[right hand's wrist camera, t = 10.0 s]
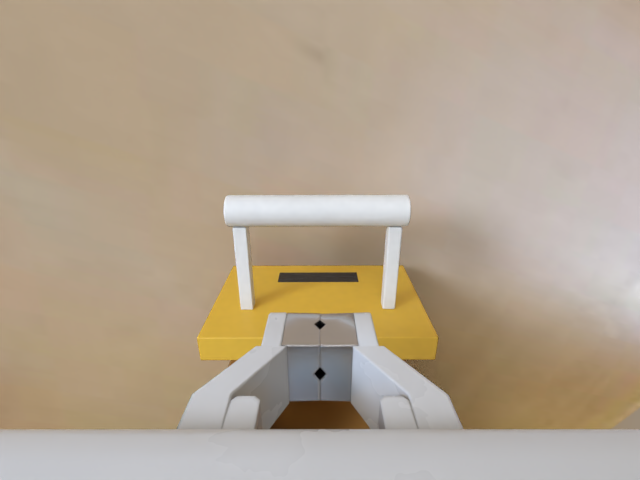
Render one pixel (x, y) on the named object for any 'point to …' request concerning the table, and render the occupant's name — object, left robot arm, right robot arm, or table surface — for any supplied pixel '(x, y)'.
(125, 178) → the table surface
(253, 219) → the drawer
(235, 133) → the table surface
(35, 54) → the table surface
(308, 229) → the table surface
